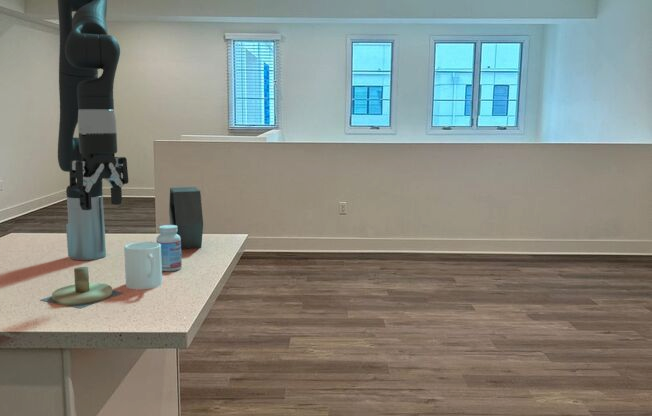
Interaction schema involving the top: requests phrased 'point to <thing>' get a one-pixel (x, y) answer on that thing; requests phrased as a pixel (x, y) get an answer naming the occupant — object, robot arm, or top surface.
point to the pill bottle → (170, 248)
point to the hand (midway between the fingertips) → (101, 207)
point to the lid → (81, 290)
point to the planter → (187, 215)
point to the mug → (143, 265)
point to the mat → (49, 299)
